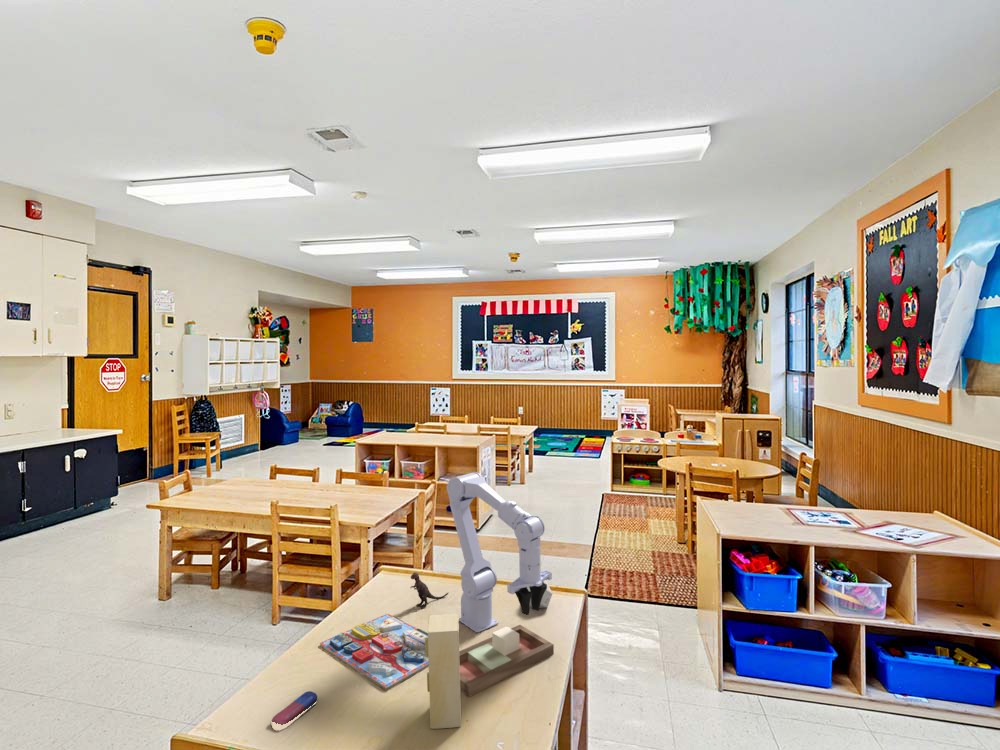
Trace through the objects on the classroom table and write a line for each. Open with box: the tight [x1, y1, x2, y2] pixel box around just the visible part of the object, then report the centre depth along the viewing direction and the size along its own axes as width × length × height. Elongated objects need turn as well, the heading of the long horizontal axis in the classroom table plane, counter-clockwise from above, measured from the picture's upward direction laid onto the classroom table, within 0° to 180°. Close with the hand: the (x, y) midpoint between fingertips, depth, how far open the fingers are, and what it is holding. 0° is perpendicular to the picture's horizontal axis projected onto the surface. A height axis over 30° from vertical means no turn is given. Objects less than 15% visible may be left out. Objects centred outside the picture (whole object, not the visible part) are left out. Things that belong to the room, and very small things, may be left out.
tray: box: [459, 624, 555, 698], centre depth 136 cm, size 14×28×2 cm, turn 129°
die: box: [527, 579, 553, 609], centre depth 167 cm, size 8×9×10 cm
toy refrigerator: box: [425, 613, 462, 730], centre depth 116 cm, size 8×7×21 cm
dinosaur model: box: [410, 572, 450, 610], centre depth 169 cm, size 4×11×14 cm
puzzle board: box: [319, 613, 429, 691], centre depth 144 cm, size 30×23×3 cm
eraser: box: [271, 691, 319, 725], centre depth 118 cm, size 11×4×2 cm, turn 153°
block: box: [491, 626, 519, 656], centre depth 138 cm, size 5×5×4 cm
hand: (530, 611), depth 144 cm, fingers open, 3 cm apart
